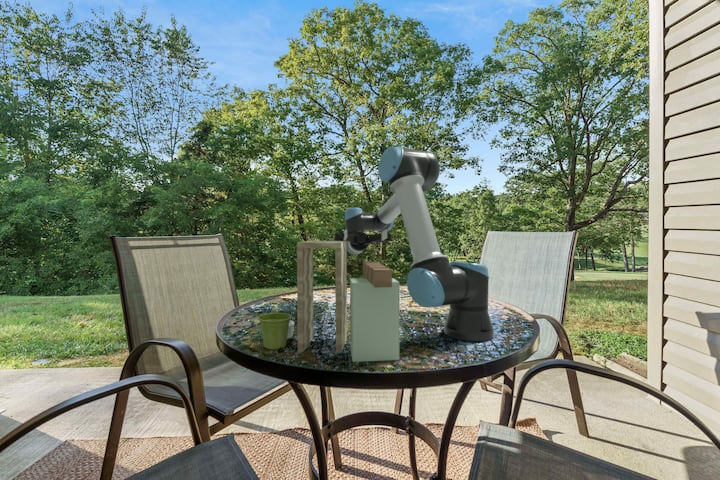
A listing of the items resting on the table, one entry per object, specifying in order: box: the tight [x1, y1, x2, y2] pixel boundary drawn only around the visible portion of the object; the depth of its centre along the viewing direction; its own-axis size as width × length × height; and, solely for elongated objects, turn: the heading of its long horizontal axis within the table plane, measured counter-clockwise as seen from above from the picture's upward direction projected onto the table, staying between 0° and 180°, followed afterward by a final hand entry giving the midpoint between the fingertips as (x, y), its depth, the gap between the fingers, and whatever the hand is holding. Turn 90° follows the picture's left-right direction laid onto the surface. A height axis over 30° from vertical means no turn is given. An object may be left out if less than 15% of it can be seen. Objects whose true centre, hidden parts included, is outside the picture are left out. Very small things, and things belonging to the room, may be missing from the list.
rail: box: [362, 261, 393, 288], centre depth 94 cm, size 24×4×4 cm, turn 6°
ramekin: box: [287, 319, 295, 340], centre depth 112 cm, size 9×9×4 cm
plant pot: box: [257, 312, 293, 350], centre depth 102 cm, size 9×9×9 cm
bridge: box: [296, 240, 348, 354], centre depth 103 cm, size 14×12×30 cm
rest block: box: [349, 277, 400, 363], centre depth 94 cm, size 12×8×20 cm, turn 96°
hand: (366, 233), depth 119 cm, fingers open, 13 cm apart
